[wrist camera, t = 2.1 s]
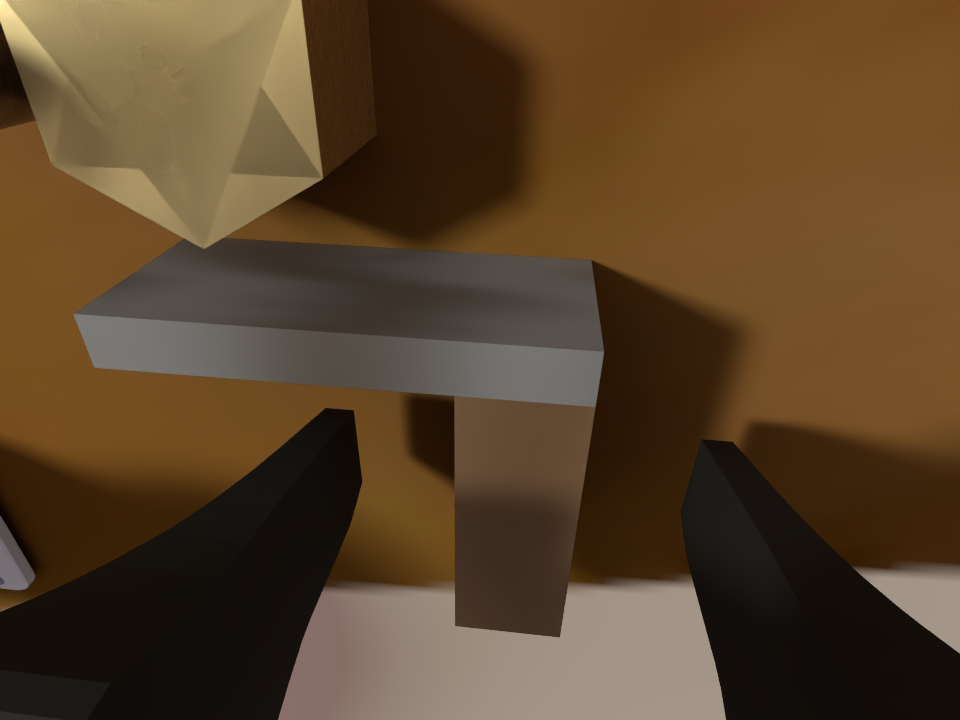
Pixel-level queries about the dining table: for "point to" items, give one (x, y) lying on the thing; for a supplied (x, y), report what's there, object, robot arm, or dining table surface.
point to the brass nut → (196, 100)
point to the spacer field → (11, 90)
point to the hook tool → (404, 375)
